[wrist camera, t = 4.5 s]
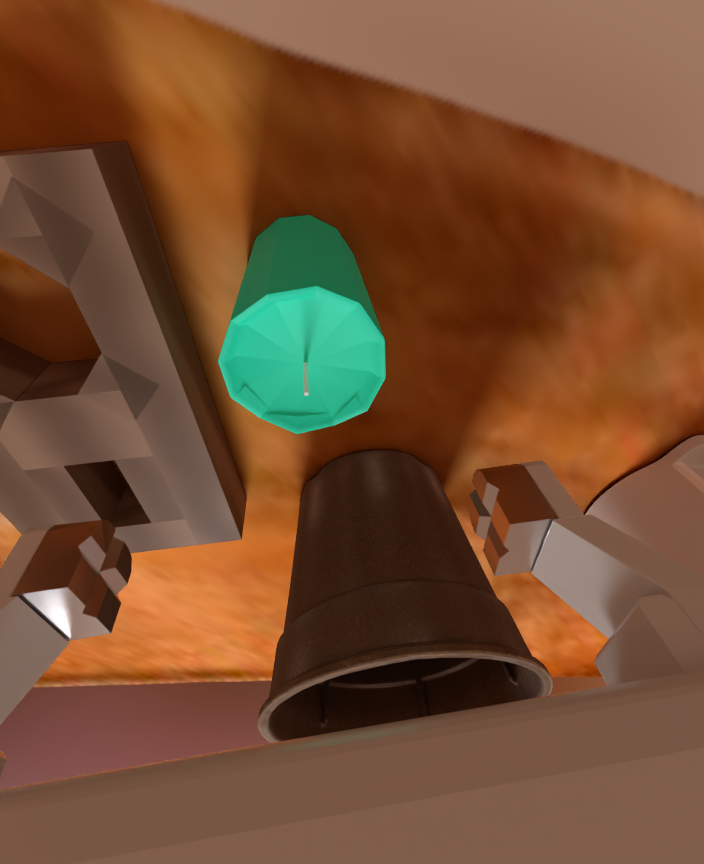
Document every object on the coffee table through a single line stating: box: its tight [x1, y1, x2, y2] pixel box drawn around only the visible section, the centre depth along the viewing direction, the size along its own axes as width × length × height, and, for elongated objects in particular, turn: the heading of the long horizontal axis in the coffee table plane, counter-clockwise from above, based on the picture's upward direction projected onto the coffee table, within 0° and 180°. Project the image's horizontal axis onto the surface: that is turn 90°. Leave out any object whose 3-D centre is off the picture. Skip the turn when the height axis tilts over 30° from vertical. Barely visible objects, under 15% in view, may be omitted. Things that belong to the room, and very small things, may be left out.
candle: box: [218, 215, 386, 434], centre depth 18 cm, size 6×6×12 cm
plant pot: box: [258, 450, 553, 743], centre depth 29 cm, size 16×16×16 cm
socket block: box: [0, 141, 247, 553], centre depth 24 cm, size 14×24×4 cm, turn 3°
